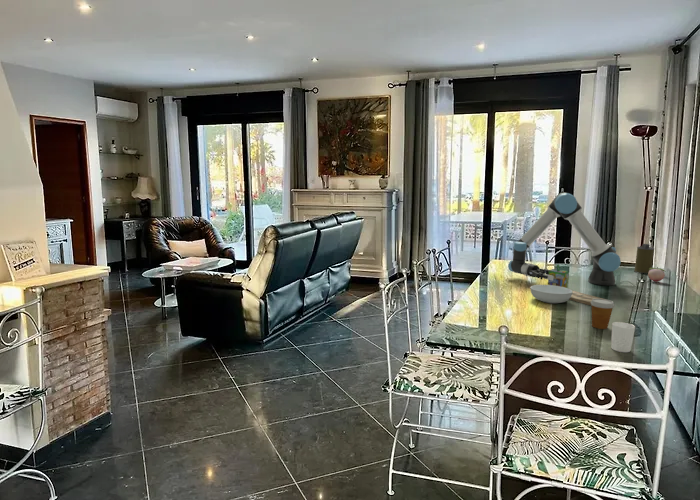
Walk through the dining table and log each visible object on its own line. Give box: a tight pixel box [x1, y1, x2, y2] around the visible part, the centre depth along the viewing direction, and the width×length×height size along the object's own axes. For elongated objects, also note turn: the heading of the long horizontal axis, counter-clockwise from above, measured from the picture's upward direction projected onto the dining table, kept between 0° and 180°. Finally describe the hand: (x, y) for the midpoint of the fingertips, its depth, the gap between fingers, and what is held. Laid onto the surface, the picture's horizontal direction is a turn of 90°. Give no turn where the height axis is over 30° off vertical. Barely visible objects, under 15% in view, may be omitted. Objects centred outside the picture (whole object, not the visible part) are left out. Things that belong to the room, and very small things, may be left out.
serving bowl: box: [529, 284, 574, 304], centre depth 268 cm, size 21×21×7 cm
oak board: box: [569, 290, 608, 306], centre depth 276 cm, size 14×24×2 cm, turn 29°
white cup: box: [610, 321, 636, 353], centre depth 198 cm, size 8×8×10 cm
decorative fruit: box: [647, 266, 666, 283], centre depth 322 cm, size 9×8×10 cm
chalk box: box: [547, 264, 569, 288], centre depth 292 cm, size 9×9×15 cm
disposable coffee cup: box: [590, 298, 615, 330], centre depth 226 cm, size 10×10×12 cm
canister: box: [633, 243, 655, 274], centre depth 352 cm, size 11×10×20 cm
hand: (560, 277), depth 291 cm, fingers open, 12 cm apart
